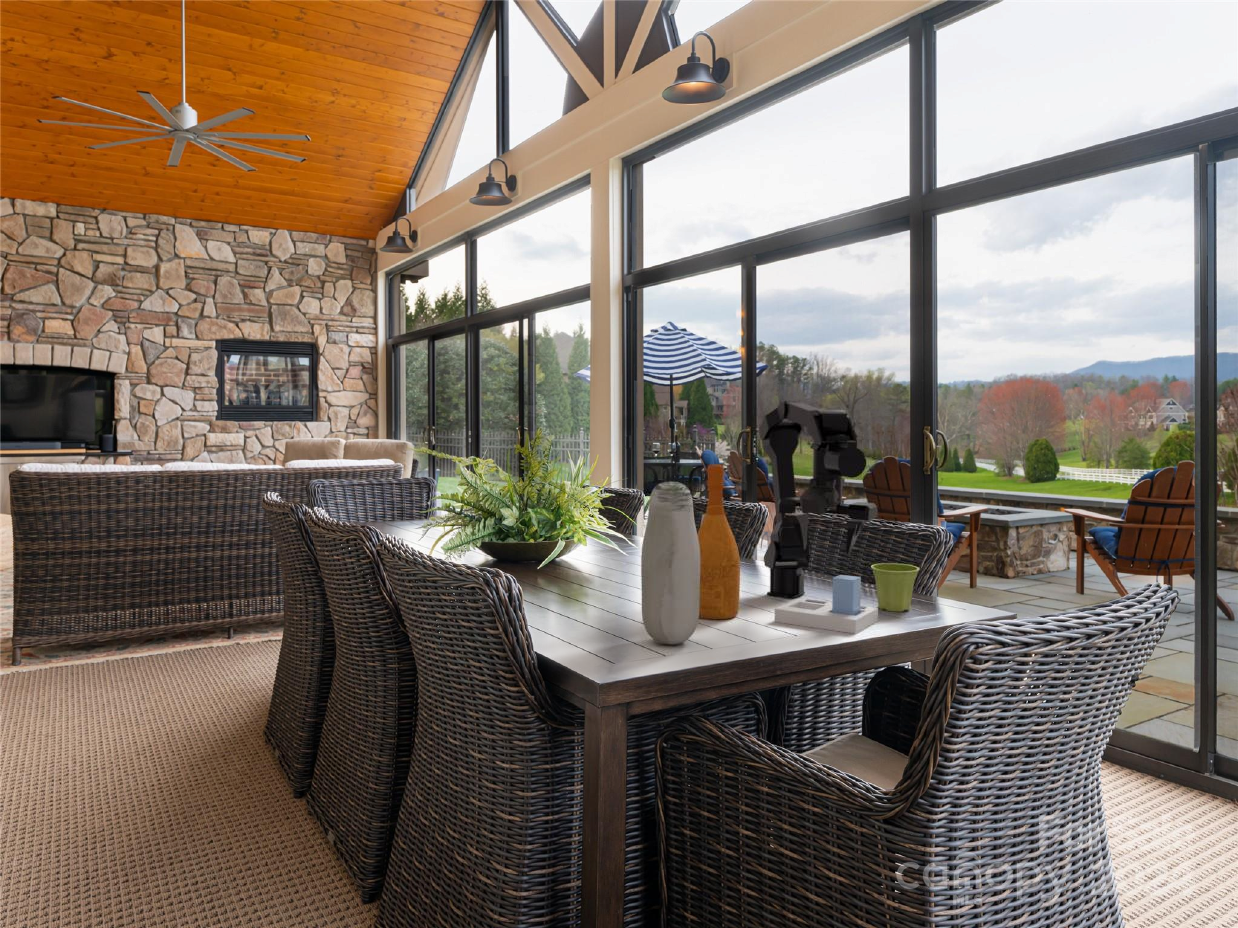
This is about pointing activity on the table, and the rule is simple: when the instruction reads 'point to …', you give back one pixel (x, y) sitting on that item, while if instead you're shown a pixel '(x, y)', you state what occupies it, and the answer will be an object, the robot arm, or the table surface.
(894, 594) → the plant pot
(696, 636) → the table surface
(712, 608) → the wine bottle
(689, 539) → the grey vase
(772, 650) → the table surface
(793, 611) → the white socket block
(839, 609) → the plug
